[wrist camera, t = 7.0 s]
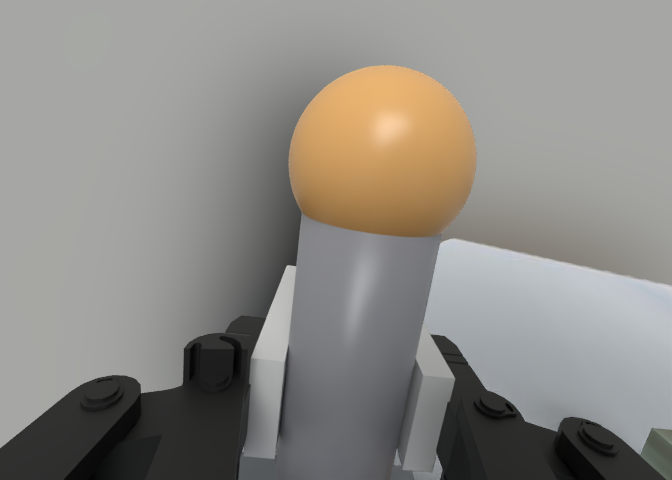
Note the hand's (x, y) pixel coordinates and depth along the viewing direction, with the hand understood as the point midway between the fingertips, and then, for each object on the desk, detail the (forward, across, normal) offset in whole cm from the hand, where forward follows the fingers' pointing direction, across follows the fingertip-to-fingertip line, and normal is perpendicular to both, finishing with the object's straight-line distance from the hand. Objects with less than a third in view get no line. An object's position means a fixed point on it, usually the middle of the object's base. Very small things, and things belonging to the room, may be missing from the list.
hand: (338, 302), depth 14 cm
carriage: (-5, 0, -10) cm, 11 cm away
